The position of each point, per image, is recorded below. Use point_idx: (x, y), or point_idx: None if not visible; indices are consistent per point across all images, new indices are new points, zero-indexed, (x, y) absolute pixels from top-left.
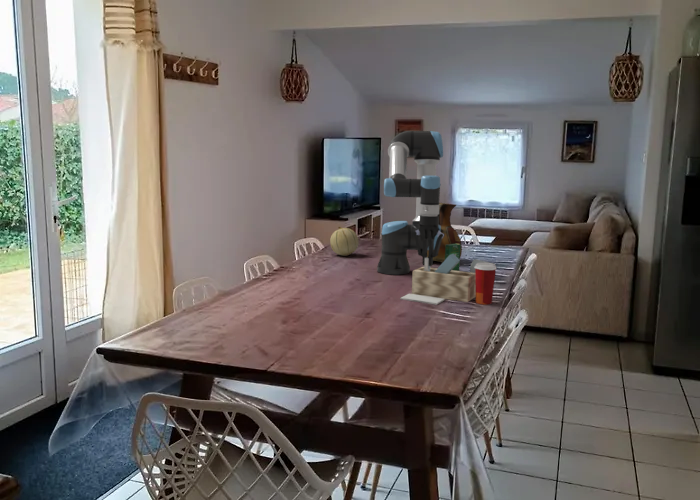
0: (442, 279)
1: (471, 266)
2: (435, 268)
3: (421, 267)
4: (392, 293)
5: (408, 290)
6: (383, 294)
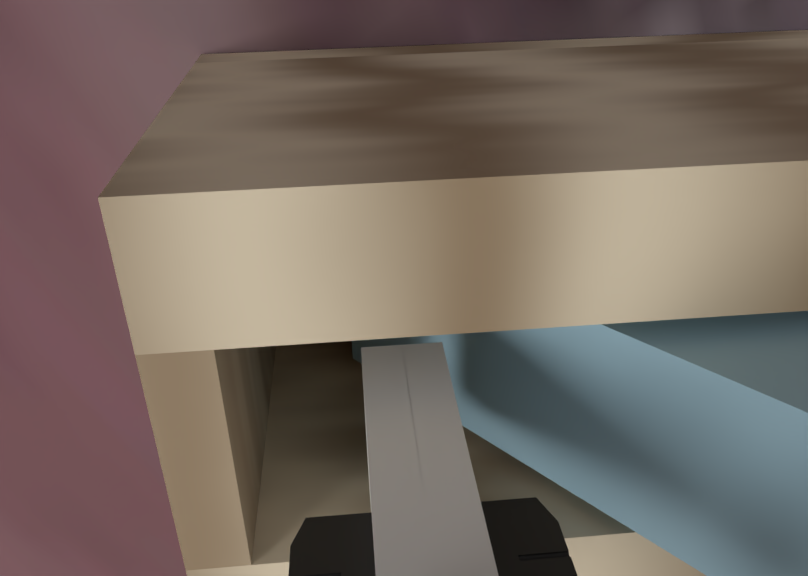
0: None
1: None
2: (521, 210)
3: (150, 314)
4: (45, 474)
5: (94, 243)
6: (2, 554)
